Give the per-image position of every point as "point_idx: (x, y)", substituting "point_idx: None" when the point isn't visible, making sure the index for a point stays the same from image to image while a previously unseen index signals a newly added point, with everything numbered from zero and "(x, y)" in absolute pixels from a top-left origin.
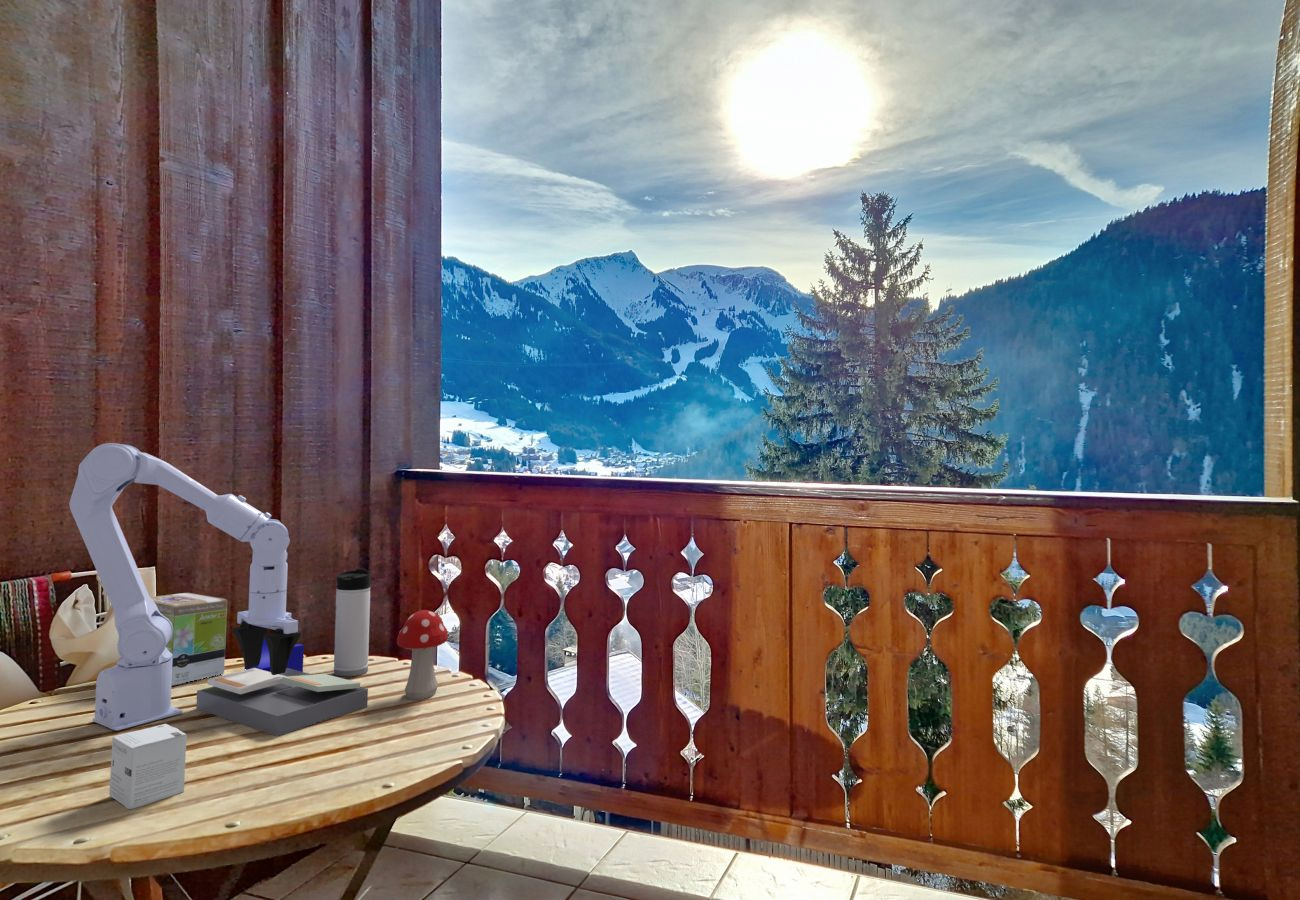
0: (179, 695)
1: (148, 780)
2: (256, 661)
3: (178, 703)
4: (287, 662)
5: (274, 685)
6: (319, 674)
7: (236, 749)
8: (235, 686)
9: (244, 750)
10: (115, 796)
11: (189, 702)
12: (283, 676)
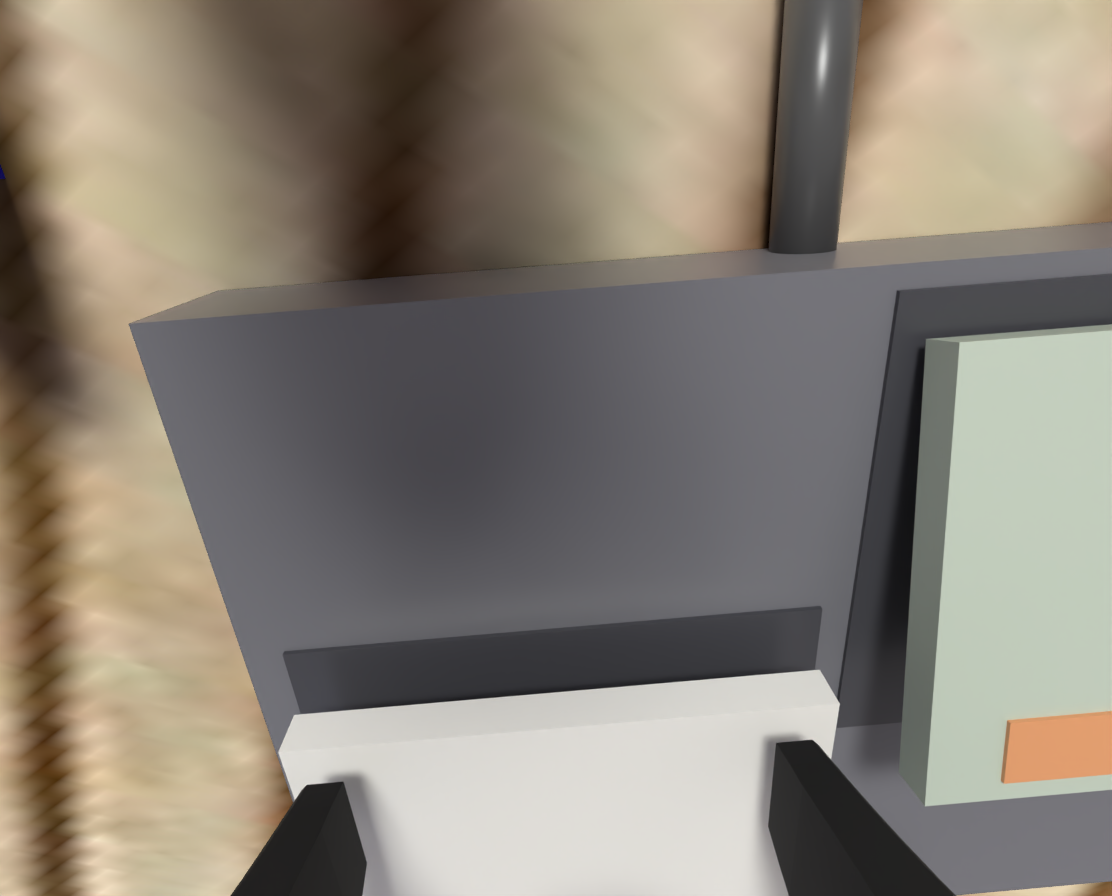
0: (18, 815)
1: None
2: (334, 848)
3: (194, 854)
4: (888, 829)
5: (666, 672)
6: (965, 419)
7: (1057, 893)
8: None
9: (1098, 882)
10: None
11: (215, 822)
12: (796, 720)
